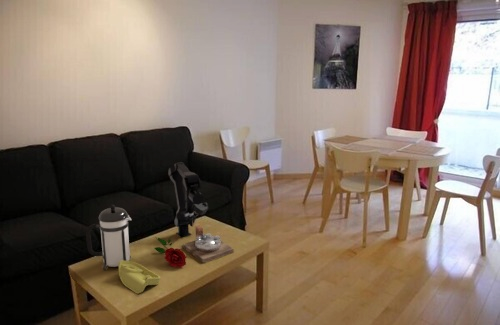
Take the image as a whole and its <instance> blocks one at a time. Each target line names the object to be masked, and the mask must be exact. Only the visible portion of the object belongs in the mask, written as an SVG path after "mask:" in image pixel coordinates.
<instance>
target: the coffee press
mask: <svg viewBox="0 0 500 325" xmlns="http://www.w3.org/2000/svg"><path fill="white" fill-rule="evenodd" d="M98 220H99V223H92V224H90V225H89V226H88V227H87V229H86V231H85V238H86V248H87V252H88V253H89V254H90V255H91V256H93V257H102V261H103V266H102V271H107V270H108V268H109V267H111V268H112V267H113V268H114V267H119V262H120V261H130V259H131V257H132V256H131V253H130V252H131V251H130V242H129V241H130V240H129V239H130V238H129V221H132V218H131V217H130V215H129V213H128V212H127V211H126V210H125V209H124V208H122V207H116V205H115V204H111V205H110V206H109V208H106V209H104V210H102V211H101V212H100V213H99V216H98ZM97 228H99V230H100V238H101V248H102V249H101V250H102V251H94V249H93V247H92V239H91V238H92V237H91V231H92V230H93V229H97Z"/></svg>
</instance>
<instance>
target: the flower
mask: <svg viewBox="0 0 500 325" xmlns="http://www.w3.org/2000/svg"><path fill="white" fill-rule="evenodd" d="M154 238H156V240H157V241H158V242H159V243H160V244H161V245H162V246H163V247H164V248H163V247H160V246H159V247H158V246H157V247H154V250H155V251H156V252H158V253H160V254H164V259H165V261H166V262H167V263H168V264H169V266H170V267H173V268H176V267H177V268H183V267H184V266H186V264H187V262H186V260H187V259H186V258H187V256H186V254H185V252H184V251H182V250H181V249H180V248H174V247H171V246H172V245H173V242H172V240H171V239H170V238H169V237H168V239H167V241H166V240H165V239H164V238H161V237H157V236H155V237H154ZM166 246H170V247H169V248H168V247H166Z"/></svg>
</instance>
